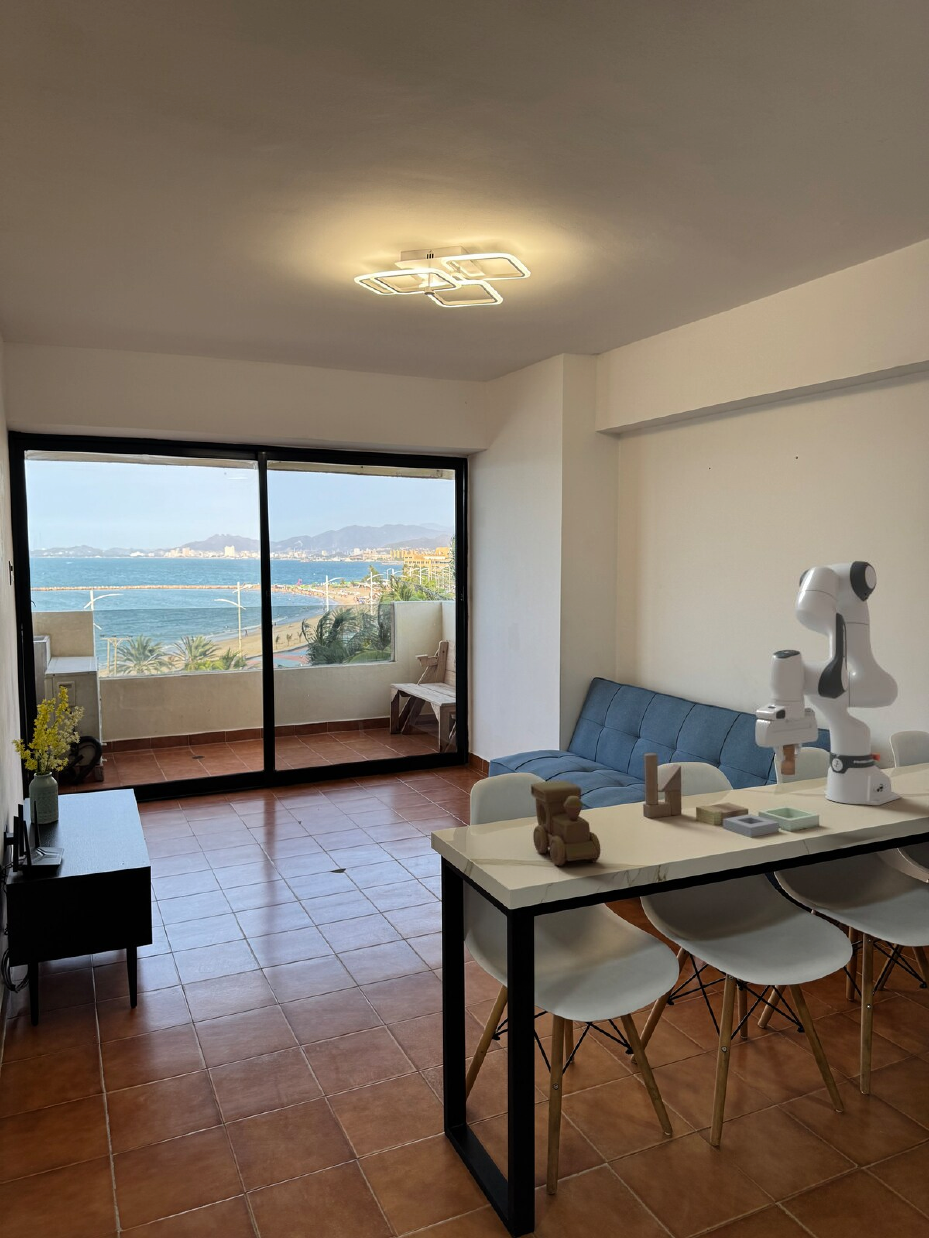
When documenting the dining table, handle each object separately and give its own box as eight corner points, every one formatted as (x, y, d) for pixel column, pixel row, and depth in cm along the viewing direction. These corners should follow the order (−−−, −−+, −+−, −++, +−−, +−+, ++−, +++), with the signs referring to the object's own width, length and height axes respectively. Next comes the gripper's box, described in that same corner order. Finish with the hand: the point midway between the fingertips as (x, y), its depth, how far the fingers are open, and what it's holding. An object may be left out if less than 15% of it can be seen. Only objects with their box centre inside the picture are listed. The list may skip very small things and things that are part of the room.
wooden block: (682, 814, 245) (681, 752, 245) (649, 818, 242) (648, 755, 241) (675, 811, 249) (674, 750, 248) (642, 815, 245) (641, 753, 245)
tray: (787, 816, 241) (787, 806, 241) (819, 825, 231) (819, 814, 231) (758, 822, 236) (758, 811, 236) (789, 831, 226) (789, 820, 226)
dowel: (787, 771, 235) (787, 742, 235) (797, 773, 232) (797, 744, 232) (778, 773, 234) (777, 744, 233) (788, 775, 230) (788, 746, 230)
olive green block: (704, 817, 241) (704, 805, 241) (722, 823, 235) (721, 810, 235) (696, 819, 240) (696, 807, 240) (713, 825, 234) (713, 812, 234)
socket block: (750, 822, 235) (750, 813, 235) (778, 831, 226) (778, 822, 226) (723, 828, 231) (722, 818, 231) (750, 837, 222) (750, 827, 222)
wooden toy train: (528, 847, 217) (527, 783, 217) (569, 842, 220) (568, 779, 220) (560, 871, 198) (559, 800, 198) (605, 865, 201) (603, 796, 201)
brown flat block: (728, 814, 246) (728, 802, 246) (748, 821, 238) (748, 808, 238) (703, 818, 242) (703, 806, 242) (723, 825, 235) (723, 812, 235)
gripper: (805, 705, 240) (805, 754, 240) (751, 711, 231) (751, 762, 231) (823, 708, 234) (824, 758, 235) (768, 714, 225) (769, 766, 225)
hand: (787, 760), depth 233 cm, fingers closed on dowel, 4 cm apart
